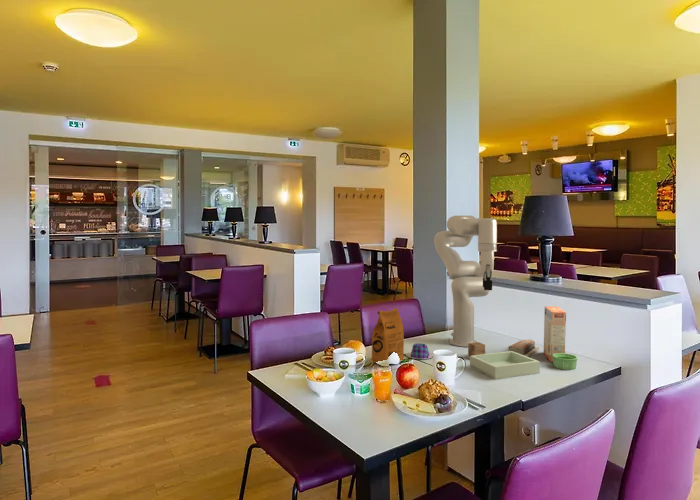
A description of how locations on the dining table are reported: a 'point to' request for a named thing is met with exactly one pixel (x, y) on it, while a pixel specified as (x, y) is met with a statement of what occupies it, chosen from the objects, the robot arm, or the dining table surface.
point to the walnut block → (476, 349)
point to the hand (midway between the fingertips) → (487, 288)
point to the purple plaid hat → (419, 351)
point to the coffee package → (388, 336)
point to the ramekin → (564, 361)
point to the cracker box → (554, 331)
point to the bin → (504, 364)
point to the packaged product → (524, 347)
